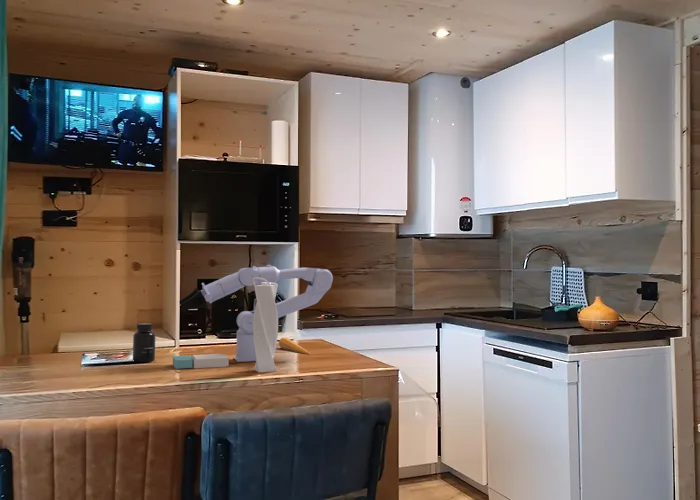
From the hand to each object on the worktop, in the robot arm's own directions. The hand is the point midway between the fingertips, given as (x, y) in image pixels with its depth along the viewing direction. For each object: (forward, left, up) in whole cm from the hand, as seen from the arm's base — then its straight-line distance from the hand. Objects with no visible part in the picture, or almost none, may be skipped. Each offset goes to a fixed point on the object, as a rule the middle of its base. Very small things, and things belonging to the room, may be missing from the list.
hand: (181, 306), depth 198 cm
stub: (0, +7, -18) cm, 19 cm away
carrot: (-41, -12, -19) cm, 47 cm away
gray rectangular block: (-8, +7, -18) cm, 21 cm away
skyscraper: (-22, +21, -18) cm, 36 cm away
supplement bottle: (+11, -7, -18) cm, 22 cm away
